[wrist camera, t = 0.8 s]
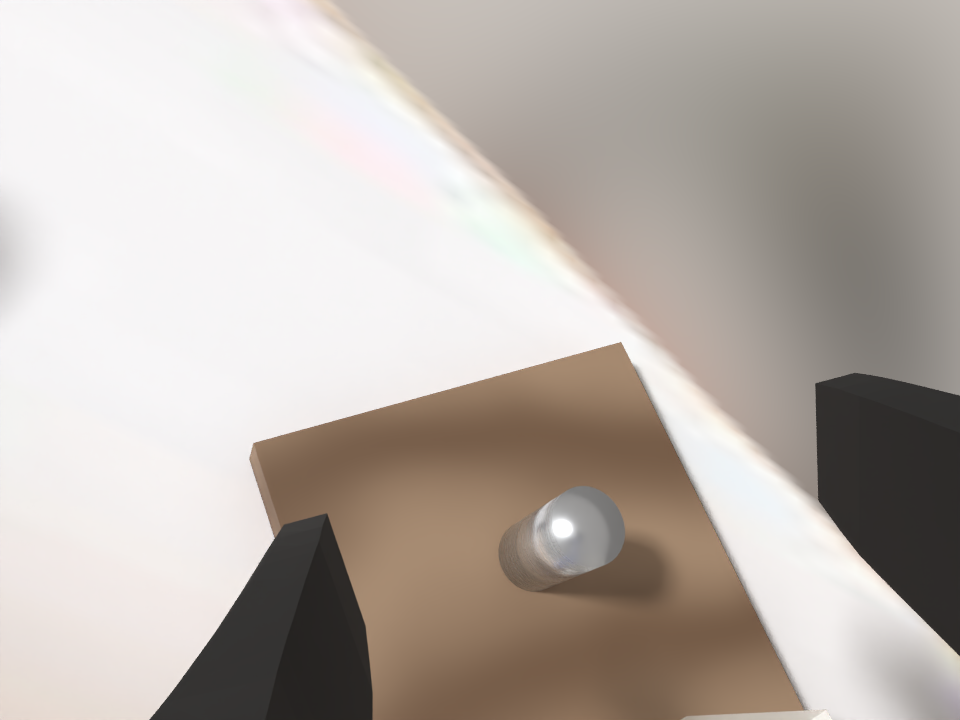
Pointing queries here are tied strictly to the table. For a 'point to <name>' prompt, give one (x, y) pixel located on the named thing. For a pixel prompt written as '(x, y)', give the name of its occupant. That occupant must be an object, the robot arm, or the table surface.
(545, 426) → the board
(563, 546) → the stub
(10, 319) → the table surface
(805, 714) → the plaster cube
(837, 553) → the table surface
